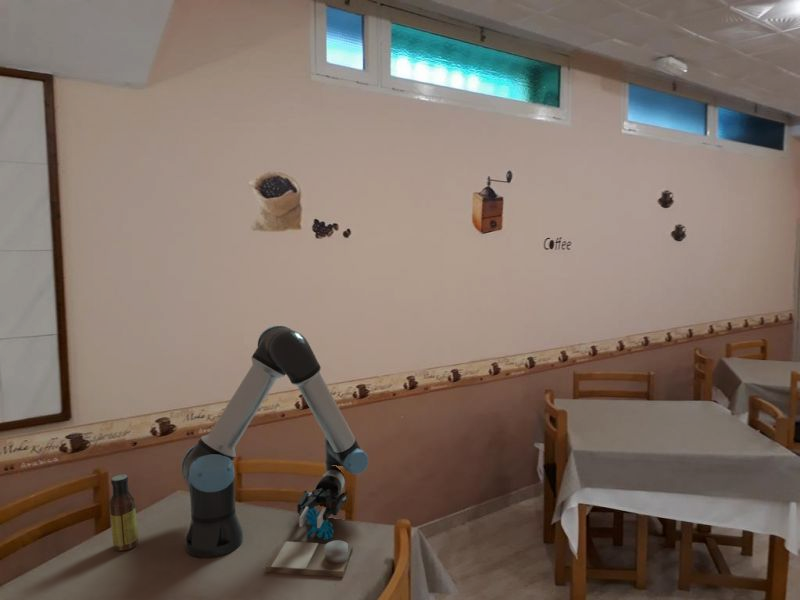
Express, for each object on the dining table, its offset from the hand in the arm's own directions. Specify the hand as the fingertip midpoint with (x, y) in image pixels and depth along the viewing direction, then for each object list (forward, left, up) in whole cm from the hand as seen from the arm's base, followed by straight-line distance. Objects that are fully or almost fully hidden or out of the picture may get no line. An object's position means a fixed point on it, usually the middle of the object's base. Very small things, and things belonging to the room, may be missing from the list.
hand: (309, 522), depth 153 cm
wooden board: (+2, -8, -7) cm, 10 cm away
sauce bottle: (-51, -6, -7) cm, 52 cm away
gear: (+2, +5, -7) cm, 9 cm away
